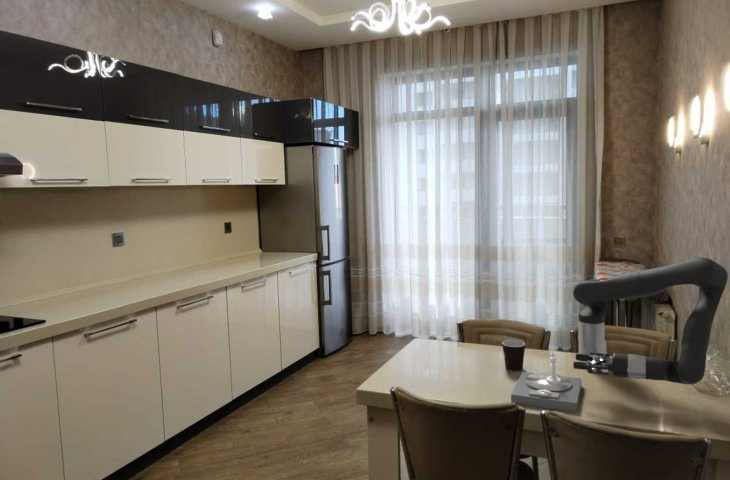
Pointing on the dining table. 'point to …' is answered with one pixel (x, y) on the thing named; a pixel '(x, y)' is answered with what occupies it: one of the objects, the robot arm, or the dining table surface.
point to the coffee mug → (513, 354)
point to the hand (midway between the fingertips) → (574, 360)
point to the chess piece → (553, 372)
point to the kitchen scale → (547, 392)
